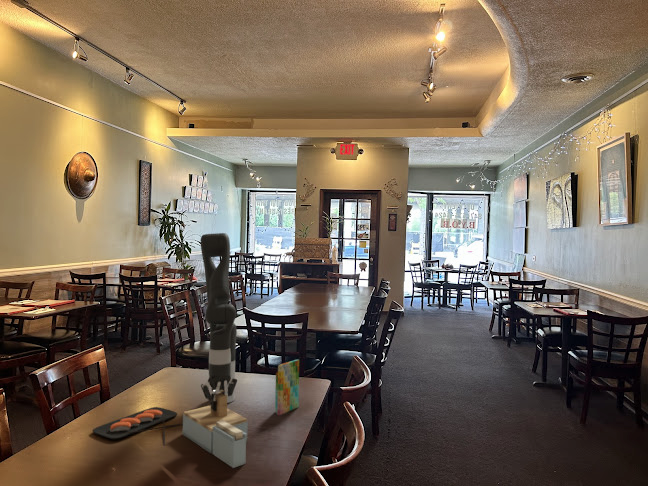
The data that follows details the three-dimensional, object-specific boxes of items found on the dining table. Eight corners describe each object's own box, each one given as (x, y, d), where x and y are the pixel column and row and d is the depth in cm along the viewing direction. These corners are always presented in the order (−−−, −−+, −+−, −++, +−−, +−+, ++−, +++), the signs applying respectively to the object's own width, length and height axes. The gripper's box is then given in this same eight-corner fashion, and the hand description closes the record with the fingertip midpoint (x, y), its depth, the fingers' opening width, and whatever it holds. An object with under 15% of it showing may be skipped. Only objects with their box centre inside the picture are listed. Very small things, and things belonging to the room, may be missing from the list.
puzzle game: (281, 416, 186) (282, 365, 186) (272, 413, 189) (273, 363, 189) (299, 408, 196) (300, 360, 196) (291, 405, 199) (292, 358, 199)
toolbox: (182, 434, 167) (182, 408, 167) (217, 424, 177) (218, 400, 177) (232, 468, 143) (232, 438, 143) (269, 454, 152) (270, 426, 152)
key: (216, 428, 153) (216, 421, 153) (222, 426, 154) (222, 420, 154) (235, 439, 144) (236, 433, 144) (242, 437, 146) (242, 431, 146)
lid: (183, 414, 167) (184, 392, 167) (217, 406, 176) (218, 384, 176) (211, 431, 153) (212, 407, 153) (246, 421, 162) (247, 398, 162)
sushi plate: (155, 410, 191) (155, 401, 191) (209, 426, 176) (210, 416, 176) (88, 435, 166) (88, 424, 166) (145, 456, 151) (145, 444, 151)
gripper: (207, 366, 158) (206, 417, 158) (242, 359, 167) (241, 408, 168) (196, 361, 163) (195, 411, 163) (231, 355, 173) (230, 402, 173)
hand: (218, 409), depth 165 cm, fingers closed on lid, 3 cm apart
